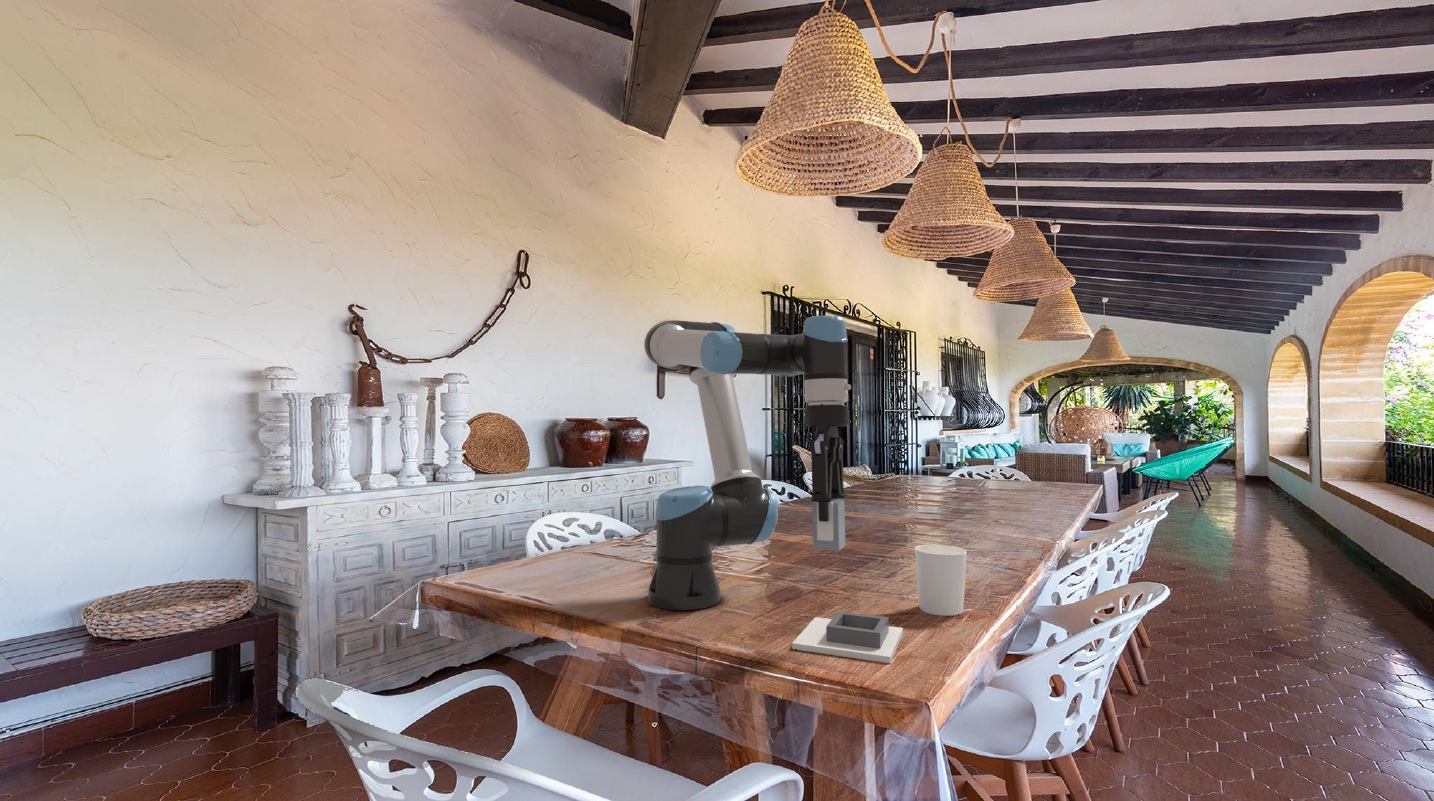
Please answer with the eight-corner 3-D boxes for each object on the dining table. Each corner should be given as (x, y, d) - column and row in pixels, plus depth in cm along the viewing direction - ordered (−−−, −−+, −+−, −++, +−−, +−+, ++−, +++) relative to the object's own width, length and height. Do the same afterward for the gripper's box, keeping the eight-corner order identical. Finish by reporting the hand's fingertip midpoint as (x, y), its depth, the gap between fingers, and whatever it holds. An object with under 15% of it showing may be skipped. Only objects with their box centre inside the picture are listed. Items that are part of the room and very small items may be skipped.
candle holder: (908, 611, 130) (908, 550, 131) (923, 600, 139) (923, 542, 139) (960, 620, 125) (959, 556, 125) (972, 607, 133) (971, 547, 133)
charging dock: (792, 649, 110) (792, 628, 110) (815, 622, 124) (815, 603, 124) (890, 663, 104) (890, 641, 104) (903, 633, 118) (903, 613, 118)
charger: (813, 548, 114) (812, 500, 115) (820, 544, 118) (819, 497, 119) (839, 550, 112) (837, 501, 113) (845, 546, 116) (844, 498, 117)
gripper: (834, 402, 107) (838, 547, 106) (859, 404, 123) (862, 531, 122) (790, 403, 110) (793, 544, 109) (819, 406, 126) (822, 529, 125)
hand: (829, 537), depth 115 cm, fingers closed on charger, 4 cm apart
